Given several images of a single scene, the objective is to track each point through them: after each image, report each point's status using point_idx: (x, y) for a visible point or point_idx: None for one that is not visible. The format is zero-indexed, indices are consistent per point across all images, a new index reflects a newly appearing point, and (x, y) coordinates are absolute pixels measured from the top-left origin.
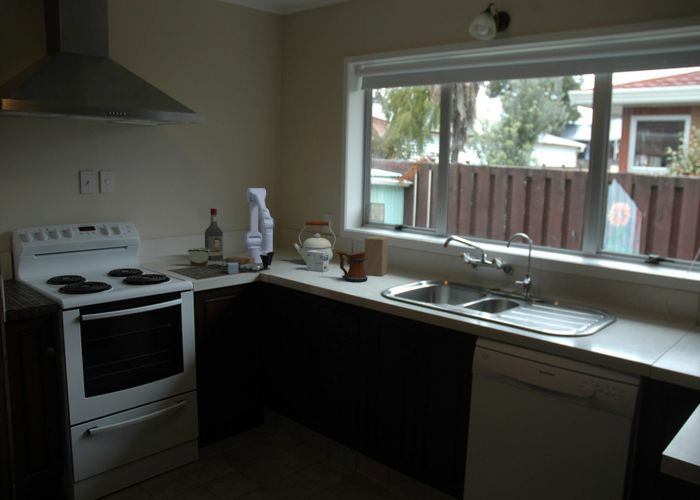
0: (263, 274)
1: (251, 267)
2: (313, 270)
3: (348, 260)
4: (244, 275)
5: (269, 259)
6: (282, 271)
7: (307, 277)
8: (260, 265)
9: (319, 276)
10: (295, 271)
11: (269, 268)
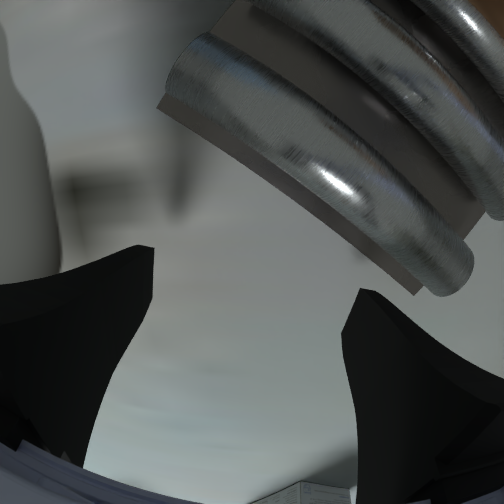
0: (77, 221)
1: (201, 38)
2: (271, 496)
3: None
4: (24, 36)
5: (371, 389)
6: (260, 391)
7: (91, 450)
8: (335, 191)
9: (133, 483)
10: (260, 449)
11: (407, 288)
